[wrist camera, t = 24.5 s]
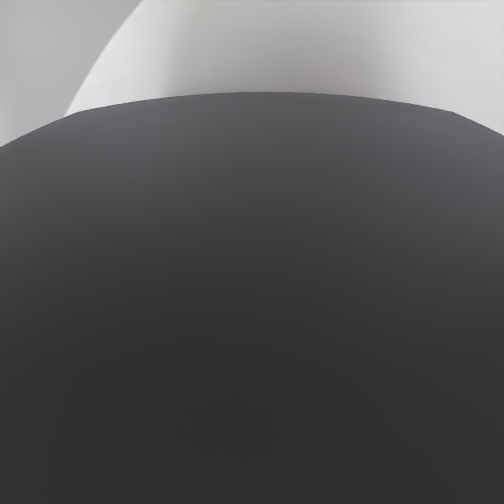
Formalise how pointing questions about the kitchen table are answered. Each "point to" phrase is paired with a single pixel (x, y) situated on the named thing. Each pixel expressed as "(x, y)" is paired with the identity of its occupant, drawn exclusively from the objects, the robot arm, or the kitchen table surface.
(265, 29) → the kitchen table surface
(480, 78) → the kitchen table surface
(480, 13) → the kitchen table surface
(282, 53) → the kitchen table surface
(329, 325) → the lid
